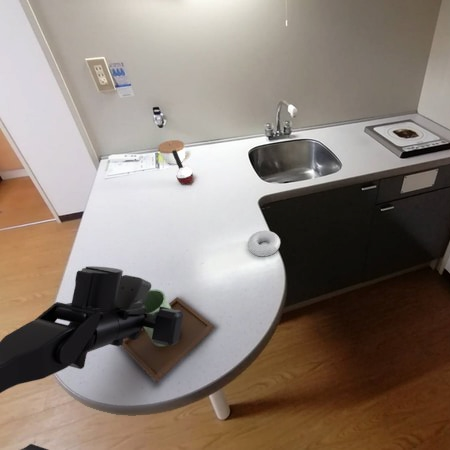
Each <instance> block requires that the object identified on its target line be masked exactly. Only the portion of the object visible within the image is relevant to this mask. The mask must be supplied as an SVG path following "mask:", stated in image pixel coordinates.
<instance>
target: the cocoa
mask: <svg viewBox="0 0 450 450" xmlns="http://www.w3.org/2000/svg"><path fill="white" fill-rule="evenodd" d="M172 153H173V156H174V158H175V160H176V163H177V164H176V165H177V167H178V169H177V171H176V173H175V177H176V179H177V181H178V183H179V184H181V185H184V186H185V185H189V184H191V183H192V182H193V180H194V175H193V171H192V168H190V167H189V166H188V165H184V166H183V164H182V163H183V162H181V161H180V158H179V156H178V154H177V151H176V150H174V151H172Z"/></svg>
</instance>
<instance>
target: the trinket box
mask: <svg viewBox="0 0 450 450" xmlns="http://www.w3.org/2000/svg"><path fill="white" fill-rule="evenodd" d="M157 150H158V152H159V154H160V156H161V158H162V160H163V161H164V162H166V163H167V164H169V165H173V166H174V165H175V166H176V165H177V163H176V160H175V158H174V156H173V153H172V151H174V150H176V151H177V154H178V156H179V158H180V161H181V163H183V161H184V160H185V157H186V147H185V143H184V142H183V141H181V140H179V139H178V140H177V139H174V140H172V139H171V140H167V141H164V142H162V143H160V144H159V145H158V146H157Z"/></svg>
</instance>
